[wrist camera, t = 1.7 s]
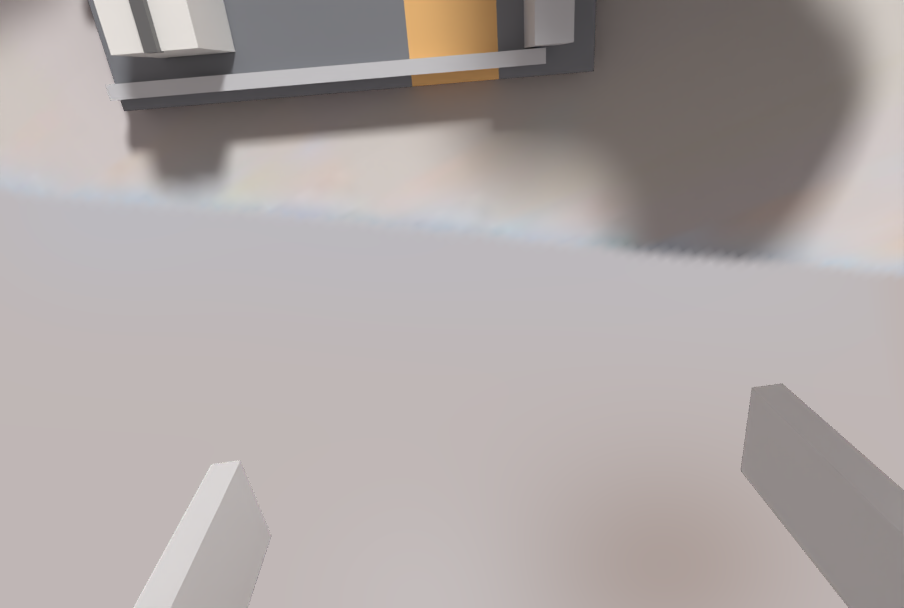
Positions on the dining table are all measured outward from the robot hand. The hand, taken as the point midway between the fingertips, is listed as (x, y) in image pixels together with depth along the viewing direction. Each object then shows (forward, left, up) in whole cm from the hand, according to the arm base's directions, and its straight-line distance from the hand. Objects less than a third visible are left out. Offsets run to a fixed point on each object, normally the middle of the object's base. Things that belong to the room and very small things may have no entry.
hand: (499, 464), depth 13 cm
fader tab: (-13, -13, -21) cm, 28 cm away
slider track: (-13, -5, -24) cm, 27 cm away
